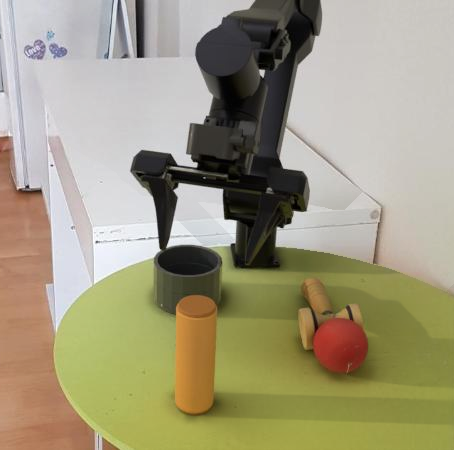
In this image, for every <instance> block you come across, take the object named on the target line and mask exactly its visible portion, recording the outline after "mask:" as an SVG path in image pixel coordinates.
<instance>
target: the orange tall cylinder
mask: <svg viewBox="0 0 454 450" xmlns="http://www.w3.org/2000/svg"><path fill="white" fill-rule="evenodd" d="M217 327H218V306H216V304H215V302H214V301H213V300H212V299H210V298H208V297H206V296H201V295H191V296H187V297H184V298H183V299H181V300H180V301H179V303H178V305H177V307H176V314H175V356H174V357H175V359H174V360H175V364H174V365H175V367H174V402H175V405H176V406H177V408H178V410H180V411H181V412H183V413H184V414H187V415H191V416H192V415H193V416H194V415H195V416H197V415H202V414H204V413H206V412H208V411H209V410H210V408H212V406H213V404H214V399H215V398H214V396H215V378H216V377H215V375H216V355H217V354H216V353H217V352H216V350H217V330H218V329H217Z"/></svg>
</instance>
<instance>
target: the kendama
mask: <svg viewBox="0 0 454 450" xmlns="http://www.w3.org/2000/svg"><path fill="white" fill-rule="evenodd" d="M300 291H301V294H302V296H303V298H305V300H306V301H307V303H308V304H309V306H310V307H311V308H310V307H302V308H299V309H298V311H297V312H298V318H297V319H298V327H299V333H300V337H301V342H302V346H303V348H304V350H306V351H309V350H313V353H314V355H315V358H316V359H317V361H318V363H320V365H321V366H322V367H323V368H325V369H326V370H328V371H330V372H333V373H338V374H348V373H351V372H353V371H355V370H357V369H359V368H360V366H361V365H363V363H364V362H365V360H366V358H367V355H368V352H369V341H368V340H369V339H368V337H367V334H366V332H365V327H364V320H363V315H362V311H361V309H360V306H359V305H358V303H348V304H347V305H346V306H345V308H343V309H342V310H340V311H339V312H337V313H334V312H333V306H332V303H331V301H330V299H329V296H328V294H327V291H326V289H325V285H324V283H323V281H322V280H321V279H320V278H318V277H309V278H306V279H305V280H304V281H303V283H301V288H300Z"/></svg>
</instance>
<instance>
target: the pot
mask: <svg viewBox="0 0 454 450" xmlns="http://www.w3.org/2000/svg"><path fill="white" fill-rule="evenodd" d="M222 280H223V258H222V256H221V255H220V253H218V252H217V251H215V250H214V249H211V248H209V247H206V246H203V245H197V244H177V245H170V246H167V247H166V250H165V251H161V250H160V251H158V252H157V253H156V254H155V255H154V257H153V300H154V304H155V305H156V306H157V307H158V308H159V309H161V310H162V311H164V312H166V313H169V314H173V315H176V307H177V305H178V303H179V301H180V300H181V299H183V298H184V297H187V296H191V295H201V296H206V297H208V298H210V299H212V300H213V301H214V302H215V304H216V306H217V307H218V306H219V304H220V302H221V298H222V285H223V284H222V282H223V281H222Z"/></svg>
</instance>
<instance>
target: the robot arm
mask: <svg viewBox="0 0 454 450" xmlns="http://www.w3.org/2000/svg"><path fill="white" fill-rule="evenodd" d="M321 1H322V0H254V1H253V2H252V4H251V5H250V7H249V8H247V9H240V10H234V11H232V12H231V13H228V14H227V15H226V16H223V17H222V18H221V23H220V24H219V25H217V27H214V28H211V29H210V30H208V31H207V32H206V33H205V34H204V35H203V36H202V37H201V38H200V40H199V41H198V42H197V43H196V46H195V49H194V51H195V52H194V55H195V60H196V63H197V66H198V68H199V71H200V73H201V75H202V78H203V81H204V83H205V86H206V87H207V90H208V92H209V93H210V94H211V95H212V99H211V102H210V107H209V111H208V115H205V118H204V120H203V123H197V122H196V123H195V122H190V123H189V126H188V127H189V128H188V135H187V141H186V150H185V154H186V155H189V156H190V159H191V161H192V162H193V163H195V164H196V166H190V165H189V166H187V165H181V164H178V163H177V161H176V160H175V158H174V155H172V153H169V152H162V151H155V150H148V149H141V150H140V151H138V152H137V153H136V154H135V155H134V156H133V158H132V163H131V165H130V169H129V172H130V173H131V175H132V176H133V177H134V178H135V180H136V181H137V182H138V183H139V185H140V186H141V187H142V188H143V189H145V190H146V191H147V192H148V194H149V195H150V196H151V197H152V198H153V204H154V209H155V216H156V227H157V229H156V230H157V236H158V249H159V250H160V251H165V250H166V248H168V244H169V241H170V238H171V233H172V228H173V223H174V219H175V214H176V209H177V205H178V200H179V196H178V195H177V194H176V192H175V190H177V189H178V188H179V185H180V184H184V185H191V186H197V187H204V188H211V189H218V190H222V210H223V220H225V221H235V239H234V240H235V241H234V242H231V243H230V253H231V259H232V264H233V267H235V268H280V267H281V261H280V257H279V254H278V250H277V247H276V244H277V233H278V228H279V229H285V227H286V226H288V225H292V222H293V217H294V216H295V215H294V214H295V212H298V213H305V212H308V206H309V202H310V201H309V200H310V196H311V195H310V194H311V193H310V192H311V188H310V184H309V183H310V182H309V178H308V176H307V174H306V173H305V172H304V170H297V169H290V168H284V167H283V166H284V165H283V164H282V161H281V159H280V158H281V152H282V147H283V142H284V138H285V133H286V127H287V123H288V117H289V112H290V107H291V102H292V98H293V92H294V87H295V83H296V77H297V72H298V68H299V65H300V64H301V63H302V62H303V61H304V60H305V59H306V58H307V57H308V56H309V55H310V54H311V53H312V52H313V49H314V45H315V39H316V37H319V36H320V35H321V30H322V25H323V23H322V22H323V9H322V2H321ZM261 71H264V73H263V76H262V75H261V73H260V72H261Z"/></svg>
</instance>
